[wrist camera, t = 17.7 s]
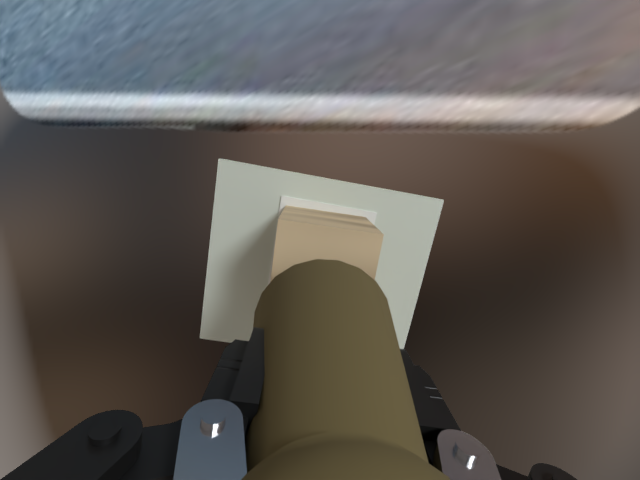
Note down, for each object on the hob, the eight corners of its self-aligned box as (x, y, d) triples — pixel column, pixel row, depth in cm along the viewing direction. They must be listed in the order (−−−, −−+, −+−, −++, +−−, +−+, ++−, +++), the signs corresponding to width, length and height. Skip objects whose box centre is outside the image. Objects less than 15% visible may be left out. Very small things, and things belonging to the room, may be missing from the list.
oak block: (285, 205, 19) (278, 219, 15) (365, 217, 20) (383, 234, 15) (270, 322, 21) (259, 370, 16) (344, 331, 22) (354, 380, 17)
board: (222, 158, 20) (218, 158, 19) (438, 198, 21) (444, 200, 20) (203, 332, 22) (198, 339, 21) (395, 359, 23) (399, 367, 22)
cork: (243, 371, 14) (47, 986, 4) (267, 245, 13) (67, 634, 2) (371, 393, 15) (532, 993, 4) (407, 274, 13) (786, 703, 3)
